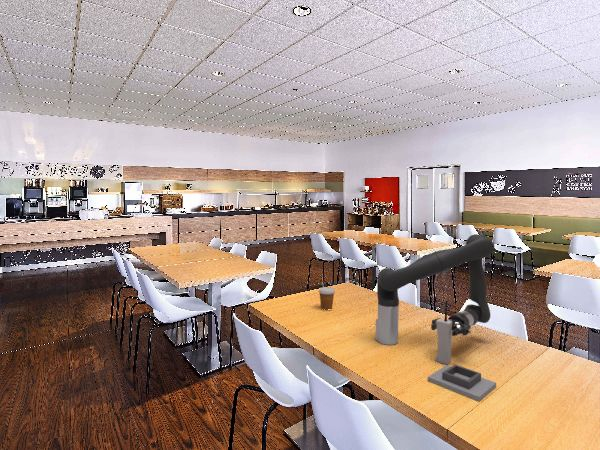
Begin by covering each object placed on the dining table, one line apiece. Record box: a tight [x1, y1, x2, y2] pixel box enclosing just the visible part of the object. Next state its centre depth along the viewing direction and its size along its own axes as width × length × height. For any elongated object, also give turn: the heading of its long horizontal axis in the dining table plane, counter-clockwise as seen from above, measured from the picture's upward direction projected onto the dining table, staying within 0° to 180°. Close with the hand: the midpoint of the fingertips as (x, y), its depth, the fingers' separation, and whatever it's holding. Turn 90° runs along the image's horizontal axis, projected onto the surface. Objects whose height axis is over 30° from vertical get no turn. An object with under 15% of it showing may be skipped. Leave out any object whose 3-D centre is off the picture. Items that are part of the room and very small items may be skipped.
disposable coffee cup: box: [318, 286, 336, 311], centre depth 217 cm, size 10×10×12 cm
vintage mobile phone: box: [434, 300, 453, 365], centre depth 148 cm, size 4×5×25 cm
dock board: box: [427, 363, 497, 402], centre depth 131 cm, size 18×14×4 cm
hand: (442, 330), depth 147 cm, fingers open, 8 cm apart
